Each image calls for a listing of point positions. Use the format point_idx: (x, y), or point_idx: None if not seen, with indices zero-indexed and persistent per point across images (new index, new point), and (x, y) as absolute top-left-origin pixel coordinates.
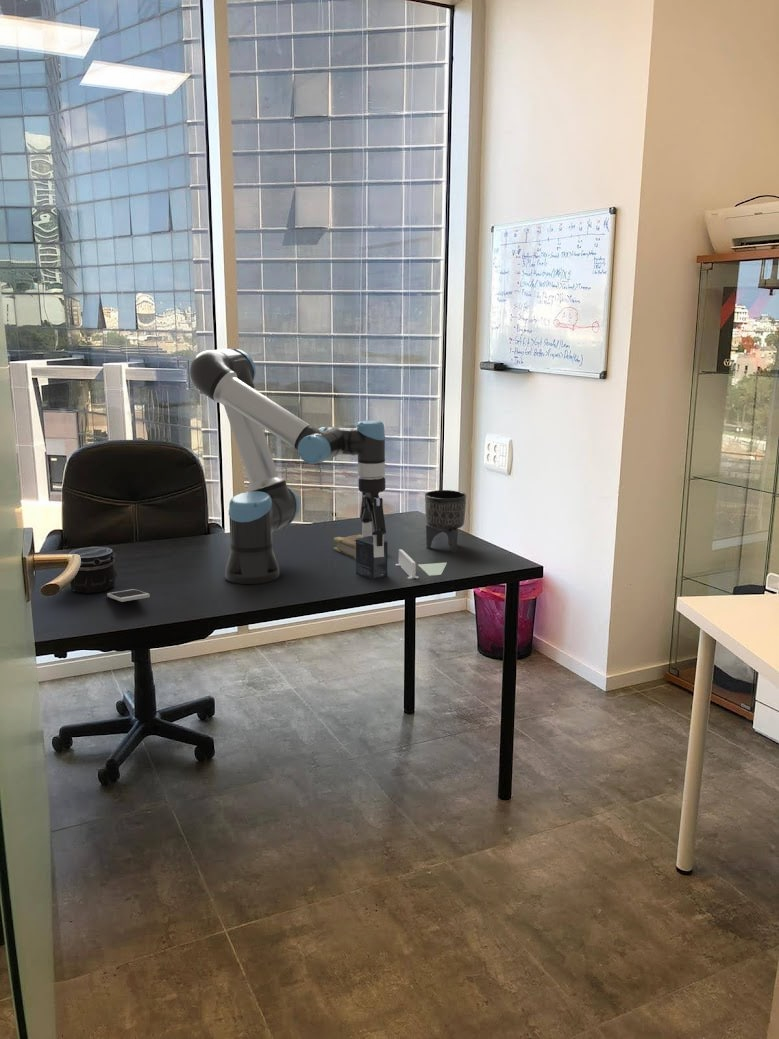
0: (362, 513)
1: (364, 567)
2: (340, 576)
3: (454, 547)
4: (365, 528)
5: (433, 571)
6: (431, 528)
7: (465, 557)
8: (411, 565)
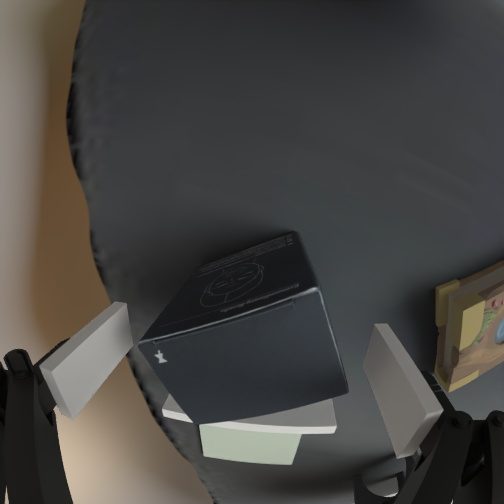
0: (486, 457)
1: (235, 261)
2: (282, 160)
3: (353, 486)
4: (403, 400)
5: (230, 432)
6: None
7: (317, 484)
8: (174, 403)
